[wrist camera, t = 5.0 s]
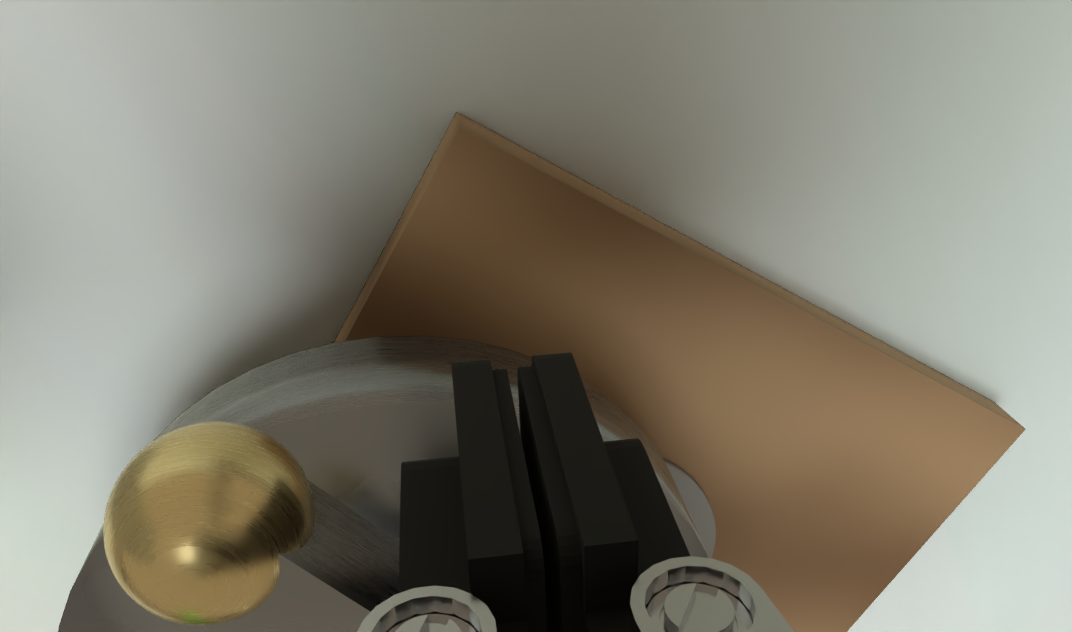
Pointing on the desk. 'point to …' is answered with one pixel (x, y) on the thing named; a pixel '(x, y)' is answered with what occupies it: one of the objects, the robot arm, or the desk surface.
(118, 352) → the desk surface
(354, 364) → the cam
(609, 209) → the stand
